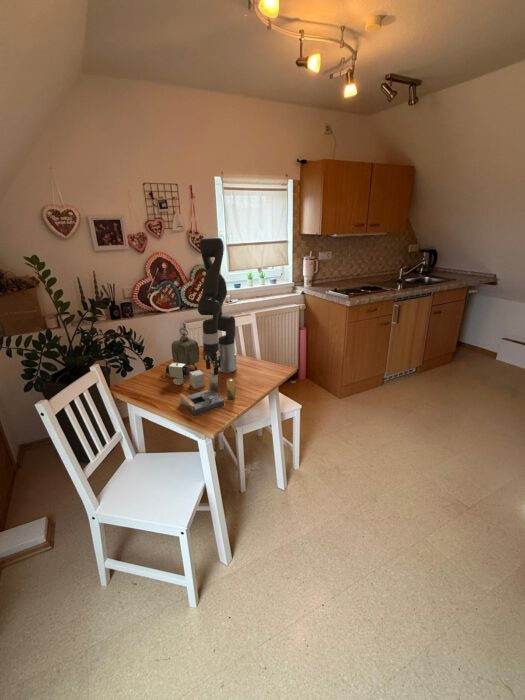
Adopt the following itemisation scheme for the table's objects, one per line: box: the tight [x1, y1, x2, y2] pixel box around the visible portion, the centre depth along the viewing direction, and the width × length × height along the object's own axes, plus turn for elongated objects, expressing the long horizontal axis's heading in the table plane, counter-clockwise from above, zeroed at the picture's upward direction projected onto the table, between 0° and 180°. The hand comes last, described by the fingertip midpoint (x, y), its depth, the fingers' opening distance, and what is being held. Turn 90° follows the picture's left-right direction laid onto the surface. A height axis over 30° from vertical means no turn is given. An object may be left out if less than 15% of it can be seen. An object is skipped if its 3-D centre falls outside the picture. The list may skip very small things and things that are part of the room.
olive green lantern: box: [171, 327, 200, 370], centre depth 188 cm, size 14×9×25 cm, turn 54°
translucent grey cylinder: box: [208, 371, 219, 394], centre depth 164 cm, size 4×4×10 cm
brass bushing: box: [225, 378, 236, 402], centre depth 156 cm, size 4×4×10 cm
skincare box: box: [189, 369, 206, 389], centre depth 170 cm, size 6×6×7 cm
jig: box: [179, 388, 225, 417], centre depth 152 cm, size 16×14×5 cm
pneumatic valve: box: [165, 362, 191, 386], centre depth 172 cm, size 6×12×12 cm, turn 78°
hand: (212, 371), depth 162 cm, fingers open, 8 cm apart
